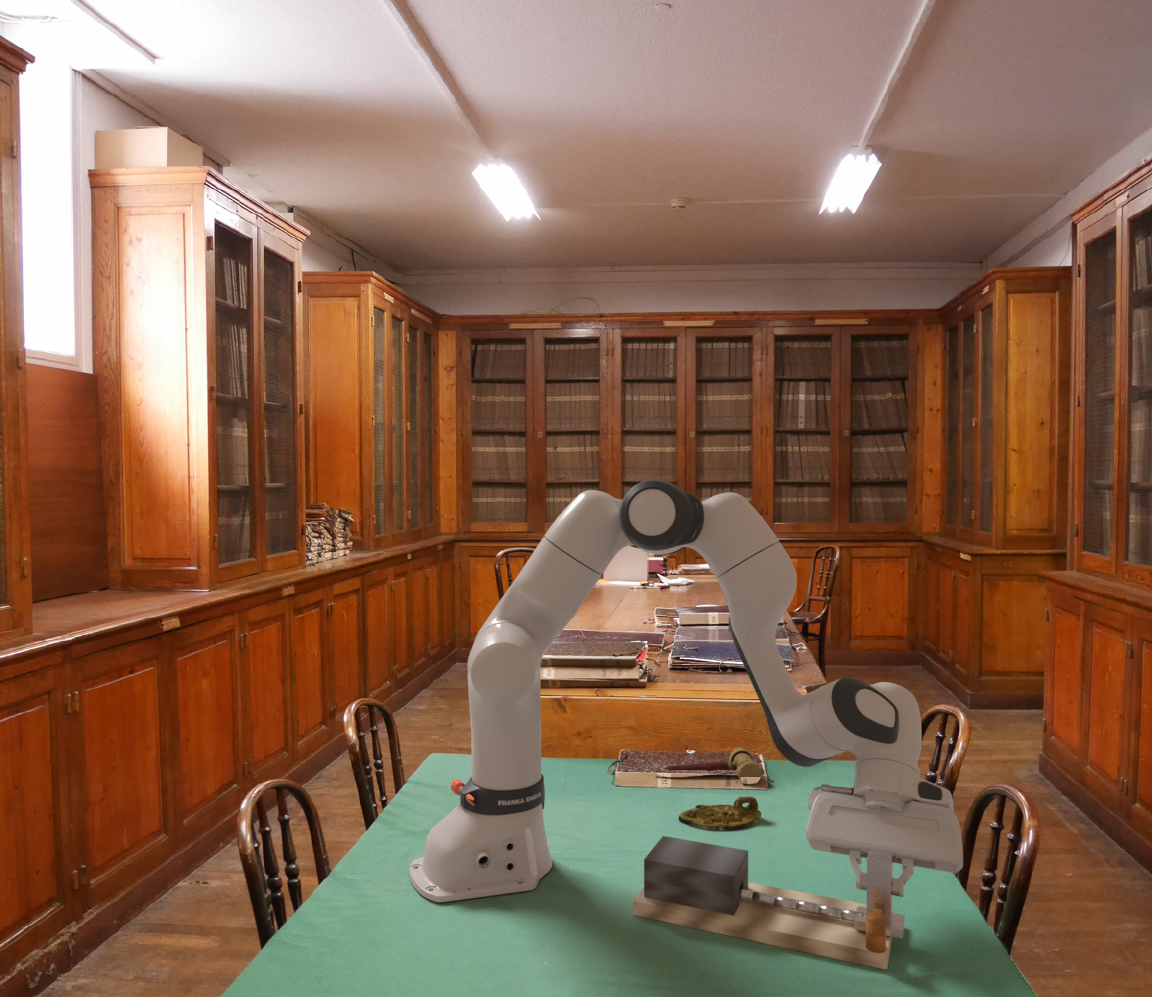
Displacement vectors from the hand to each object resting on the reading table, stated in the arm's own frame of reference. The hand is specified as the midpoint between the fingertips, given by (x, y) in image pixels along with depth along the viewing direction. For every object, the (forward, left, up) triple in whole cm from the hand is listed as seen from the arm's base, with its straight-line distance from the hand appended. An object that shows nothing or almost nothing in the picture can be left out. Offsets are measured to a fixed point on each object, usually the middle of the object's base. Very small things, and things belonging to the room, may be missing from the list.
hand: (879, 891), depth 116 cm
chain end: (-5, +7, -5) cm, 10 cm away
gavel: (+15, +63, -8) cm, 65 cm away
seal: (+5, +43, -8) cm, 44 cm away
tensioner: (-10, +12, -7) cm, 17 cm away
